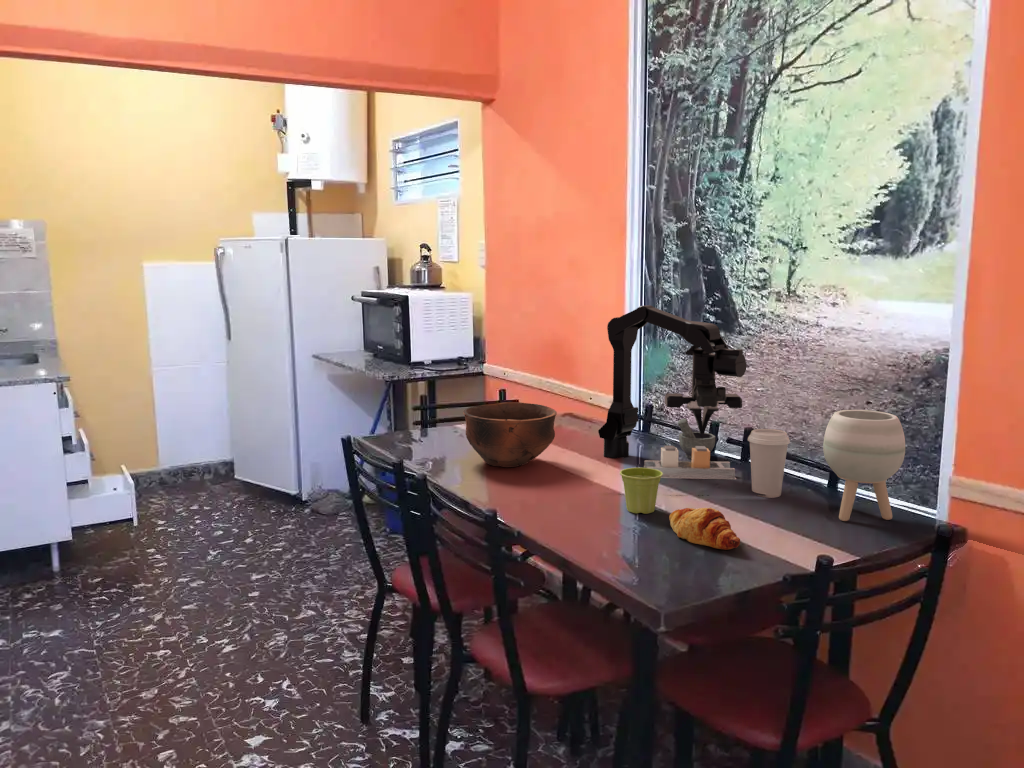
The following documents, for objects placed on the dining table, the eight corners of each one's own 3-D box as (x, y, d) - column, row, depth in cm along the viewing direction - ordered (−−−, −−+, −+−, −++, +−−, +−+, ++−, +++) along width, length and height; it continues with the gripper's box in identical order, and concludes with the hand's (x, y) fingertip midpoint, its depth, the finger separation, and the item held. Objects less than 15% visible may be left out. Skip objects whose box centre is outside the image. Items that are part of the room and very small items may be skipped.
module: (693, 474, 208) (694, 449, 207) (691, 470, 212) (692, 445, 211) (709, 474, 208) (710, 449, 207) (706, 470, 211) (707, 445, 211)
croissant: (659, 540, 171) (645, 510, 169) (694, 513, 175) (680, 483, 172) (726, 572, 152) (711, 539, 150) (764, 541, 156) (749, 508, 153)
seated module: (662, 473, 208) (662, 448, 207) (660, 469, 212) (661, 445, 211) (677, 474, 208) (678, 448, 207) (675, 470, 212) (676, 445, 211)
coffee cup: (792, 492, 194) (795, 430, 192) (780, 502, 187) (783, 438, 184) (752, 486, 200) (755, 426, 197) (739, 495, 192) (742, 433, 190)
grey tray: (647, 480, 205) (648, 469, 204) (643, 468, 217) (643, 458, 216) (736, 482, 203) (736, 471, 203) (727, 470, 215) (727, 459, 215)
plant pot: (610, 509, 181) (610, 471, 180) (638, 501, 187) (639, 465, 186) (642, 519, 174) (643, 480, 173) (670, 511, 180) (671, 473, 179)
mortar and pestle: (700, 454, 233) (702, 413, 231) (721, 461, 224) (723, 419, 223) (667, 457, 229) (668, 416, 227) (687, 465, 220) (688, 422, 218)
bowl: (498, 480, 205) (498, 421, 203) (447, 461, 225) (446, 407, 223) (574, 466, 220) (574, 411, 217) (519, 449, 239) (519, 398, 237)
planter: (829, 526, 169) (835, 421, 166) (811, 503, 185) (817, 407, 182) (911, 529, 167) (919, 423, 164) (886, 506, 183) (893, 409, 180)
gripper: (670, 377, 199) (668, 440, 201) (748, 378, 197) (745, 441, 200) (665, 371, 210) (663, 430, 212) (738, 372, 208) (736, 431, 211)
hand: (701, 433), depth 208 cm, fingers closed
